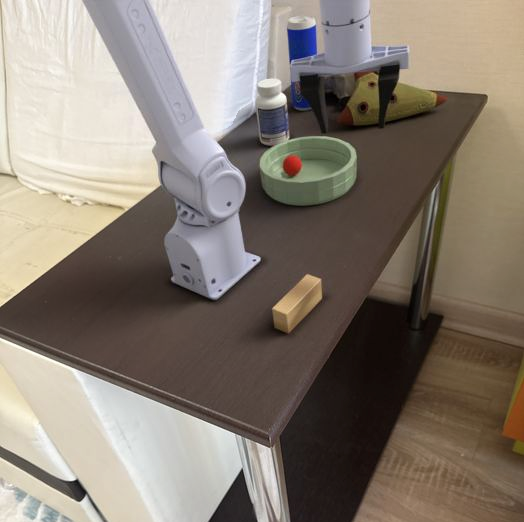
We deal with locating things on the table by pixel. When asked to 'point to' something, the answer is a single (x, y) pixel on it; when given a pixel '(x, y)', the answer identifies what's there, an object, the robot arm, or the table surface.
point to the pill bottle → (272, 112)
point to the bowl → (309, 170)
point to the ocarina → (401, 103)
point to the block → (297, 303)
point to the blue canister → (301, 50)
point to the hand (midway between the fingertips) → (352, 127)
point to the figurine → (342, 86)
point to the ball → (292, 165)
